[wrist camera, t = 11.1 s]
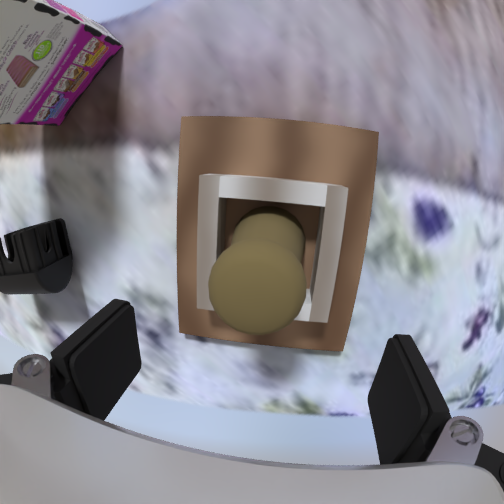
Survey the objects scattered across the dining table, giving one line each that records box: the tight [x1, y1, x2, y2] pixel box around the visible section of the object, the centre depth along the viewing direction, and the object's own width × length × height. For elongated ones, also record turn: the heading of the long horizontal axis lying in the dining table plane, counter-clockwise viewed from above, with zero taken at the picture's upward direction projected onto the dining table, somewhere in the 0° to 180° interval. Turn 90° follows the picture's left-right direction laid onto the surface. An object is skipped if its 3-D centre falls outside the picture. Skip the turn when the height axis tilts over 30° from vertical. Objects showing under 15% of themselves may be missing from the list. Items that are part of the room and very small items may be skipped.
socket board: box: [177, 116, 379, 351], centre depth 24 cm, size 16×20×4 cm
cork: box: [208, 206, 307, 335], centre depth 19 cm, size 6×6×11 cm
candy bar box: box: [0, 0, 123, 126], centre depth 15 cm, size 11×5×16 cm, turn 132°
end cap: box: [0, 218, 72, 294], centre depth 26 cm, size 10×7×7 cm
